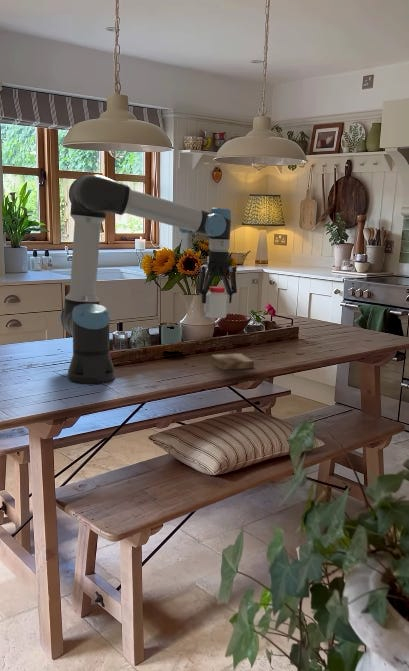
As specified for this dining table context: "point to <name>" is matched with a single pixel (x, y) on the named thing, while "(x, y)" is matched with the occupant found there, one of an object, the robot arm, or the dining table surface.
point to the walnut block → (232, 361)
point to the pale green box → (170, 334)
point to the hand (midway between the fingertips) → (216, 311)
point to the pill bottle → (217, 302)
